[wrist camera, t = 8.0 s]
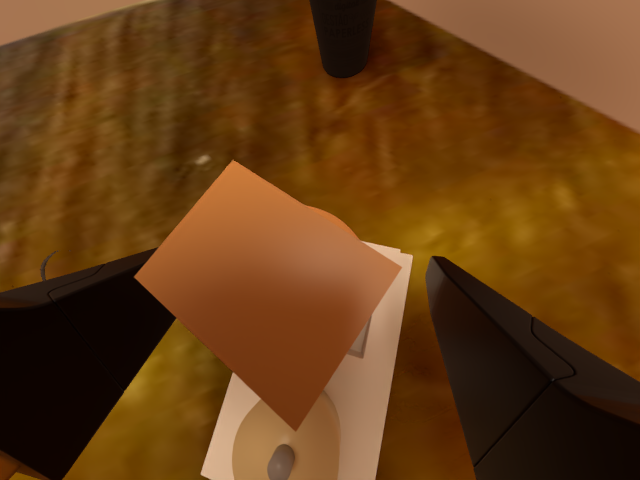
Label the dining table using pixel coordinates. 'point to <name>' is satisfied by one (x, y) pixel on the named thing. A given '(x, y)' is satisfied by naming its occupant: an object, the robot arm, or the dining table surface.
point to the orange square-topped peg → (269, 287)
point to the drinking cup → (343, 34)
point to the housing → (319, 410)
